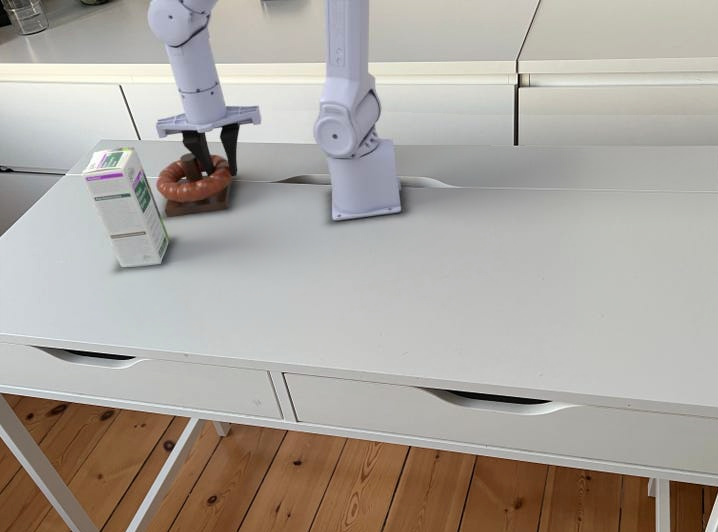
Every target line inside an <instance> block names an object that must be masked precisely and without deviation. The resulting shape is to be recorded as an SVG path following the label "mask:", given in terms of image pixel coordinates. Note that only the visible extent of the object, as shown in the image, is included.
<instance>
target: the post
mask: <svg viewBox="0 0 718 532" xmlns="http://www.w3.org/2000/svg"><path fill="white" fill-rule="evenodd" d="M179 160H181V163H182V166H183V170H184V173H185V176H186V177H184V178H182V179H181V180H179V181H178V182H177V183H180V184H186V183H193V182H197V181H200V180H202V179H205V178H207V177H208V175H207V174H206V175H203V172H201V169H200V165H199V162H198V160H197V158H196V157H195V156H194V155H193V154H192V153H191V152H188V153H185V154H183V155H181V156H180V158H179ZM232 184H233V177H232V180H231V182H230V184H229V185H228V186H226V187H225V188H224V189H223V190H222V191H221V192H219V193H218V194H215V195H213V196H211V197H208V198H206V199H203V200H199V201H192V202H184V203H183V202H177V201H171V200H168V199H166V200H167V201H166V204H165V207H164V212H165V213H164V214H165V216H166V217H167V218H169V217H170V218H171V217H177V216H184V215H185V216H186V215H191V214H192V215H193V214H199V213H207V212H208V213H209V212H214V211H222V210H228V206H229V201H230V196H231V190H232V186H233V185H232Z"/></svg>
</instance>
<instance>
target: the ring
mask: <svg viewBox="0 0 718 532" xmlns="http://www.w3.org/2000/svg"><path fill="white" fill-rule="evenodd" d="M210 155H211V158H212V161H213V164H214V169H215V172H214V173H213V174H212V175H210V176H209V177H207V178H205V179H202V180H200V181H197V182H193V183H186V184H180V183H177V182H178V181H179V180H181V179H184V178H186V176H185V173H184V170H183V166H182V163H181V160H180V159H179V160H178V159H177V160H175V161H173V162H172V163H170V164H168V166H166V167H165V168H164V169H162V170H161V171H160V173H159V175H158V177H157V181H156V183H155V184H156V185H155V186H156V189H157V191H158V192H159V193H160V194H161V195H162V197H163V198H164V199H165V200H171V201H177V202H183V203H184V202H192V201H199V200H203V199H206V198H208V197H211V196H213V195H215V194H218V193H219V192H221V191H222V190H223V189H224V188H225V187H226V186H228V185H229V184H230V182H231V180H232V178H233V177H232V175H231V173H230V169H229V164H228V159H226V158H225V157H223V156H222V155H217V154H211V153H210ZM198 162H199V161H198ZM199 165H200V169H201V172H202V173H206V172H205V170H204V168H203V167H202V165H201V164H200V162H199ZM232 181H233V180H232Z"/></svg>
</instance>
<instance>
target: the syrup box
mask: <svg viewBox="0 0 718 532" xmlns="http://www.w3.org/2000/svg"><path fill="white" fill-rule="evenodd" d="M140 159H141V158H140V156H139V154H138V151H137V149H136V147H116V148H110V149H104V150H99V151H94V152H93V154H92V156H91V158H90V160H89V161H88V163H87V164H86V166H85V168H84V169H83V171H82V173H81V175H80V176H81V177H82V180H83V183H84V184H85V187H86V189H87V191H88V194H89V196H90V198H91V201H92V204H93V205H94V208H95V210H96V212H97V215H98V217H99V219H100V221H101V224H102V226H103V229H104V231H105V233H106V236H107V238H108V240H109V242H110V244H111V247H112V249H113V251H114V253H115V256H116V258H117V260H118V263H119V265H120V267H121V268H136V267H146V266H154V265H161V264H162V262H163V259H164V256H165V254H166V251H167V249H168V246H169V243H170V237H169V234H168V232H167V229H166V226H165V223H164V221H163V219H162V215H161V212H160V210H159V208H158V205H157V202H156V200H155V196H154V194H153V191H152V188H151V186H150V183H149V180H148V178H147V176H146V171H144V167H143V165H142V161H141V160H140Z"/></svg>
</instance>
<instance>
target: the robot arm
mask: <svg viewBox="0 0 718 532" xmlns="http://www.w3.org/2000/svg"><path fill="white" fill-rule="evenodd" d="M218 2H219V0H151V1H150V3H149V8H148V9H147V22H148V26H149V28H150V30H151V32H152V34H153V35H154V36H155V37H156V38H157V39H158V40H159V41H160V42H161V43H162V44H164V48H165V51H166V54H167V57H168V60H169V64H170V68H171V71H172V74H173V78H174V81H175V84H176V88H177V91H178V95H179V97H180V98H179V99H180V101H181V105H182V108H183V111H184V112H182V113H179V114H176V115H172V116H169V117H164V118H158V119H157V120H156V122H155V129H156V132H157V135H158V138H159V139H163V138H167V137H168V136H169V135H171V136H172V135H178V134H182V135H181V136H182V142H181V143H182V145H183V146H184V148H186V150H188V151H189V153H192V154H193V155H194V156H195V157H196V158H197V160H198V161H199V162H200V164H201V165H202V167H203V168H204V170H205V172H204V173H206V175H208V177H209V176H210V175H212V174H213V173H214V172H215V169H214V164H213V161H212V158H211V155H212V154H211V153H210V149H209V145H208V140H207V135H206V133H209V132H212V131H213V130H214V129H220V128H221V130H220V134H219V139H220V141H221V144H222V146H223V149H224V152H225V156H226V158H227V159H226V160H227V161H228V164H229V169H230V173H231V175H232V178H233V177H237V175H238V171H239V170H238V162H237V151H238V150H237V148H238V138H239V134H240V128H241V126H243V125H250V124H252V125H253V126H257V125H261V124H262V114H261V110H260V106H259V105H249V106H248V105H247V106H246V105H243V106H241V105H240V106H239V105H237V106H236V105H232V106H231V105H226V102H225V98H224V93H223V90H222V86H221V82H220V79H219V78H220V77H219V75H218V70H217V66H216V62H215V59H214V58H215V57H214V55H213V50H212V47H211V42H210V37H211V36H210V32H209V24H210V22H211V19H212V11H213V10H214V8H215V7H216V5H217V4H218ZM323 2H324V4H323V5H324V43H325V44H324V46H325V47H324V48H325V81H324V84H323V88H322V91H321V95H320V98H319V102H318V104H319V105H318V106H319V108H318V109H319V111H318V114H317V117H316V119H315V121H314V123H313V129H312V134H313V138H314V141H315V143H316V145H317V146H318V147H319V148H320V150H321V151H323V152H324V153H325V156H326V162H327V167H328V174H329V178H330V185H331V189H332V191H331V218H332V220H333V221H334V222H335V221H336V222H337V221H343V220H351V219H360V218H365V217H366V218H367V217H373V216H374V217H375V216H382V215H389V214H397V213H401V211H402V206H401V205H402V204H401V197H400V191H402V186H401V185H402V184H401V178H400V176H398V169H397V161H396V153H395V145H394V139H393V138H382V137H379V135H378V132H377V128H376V124H377V122H378V121H379V120H380V118H381V116H382V103H381V99H380V97H379V95H378V92H377V89H376V77H375V76H374V75H373V74H371V73H370V72H369V46H370V45H369V43H370V41H369V40H370V0H323ZM210 154H211V155H210Z"/></svg>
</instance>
